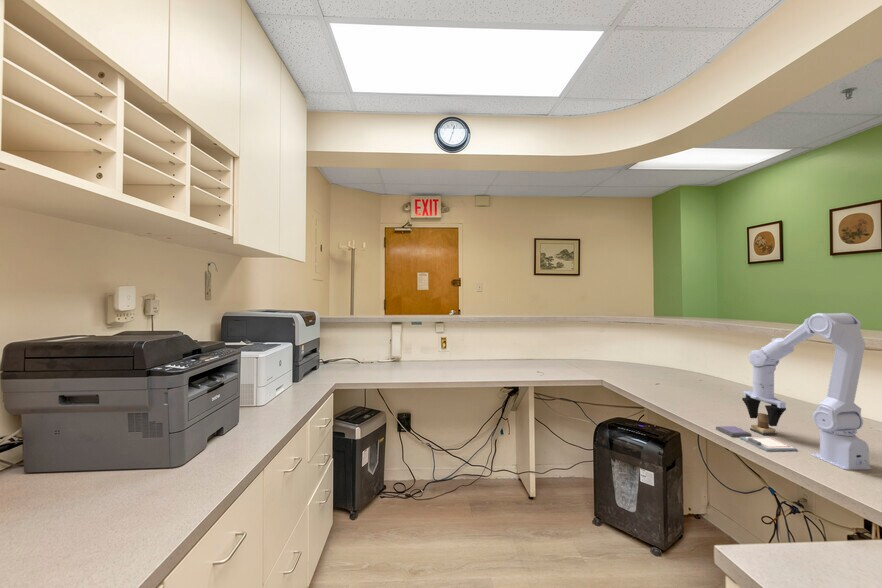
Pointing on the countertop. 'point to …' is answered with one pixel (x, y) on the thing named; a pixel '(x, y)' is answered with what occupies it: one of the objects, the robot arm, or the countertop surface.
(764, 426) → the stamp
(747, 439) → the clipboard
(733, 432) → the ink pad
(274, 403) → the countertop surface
